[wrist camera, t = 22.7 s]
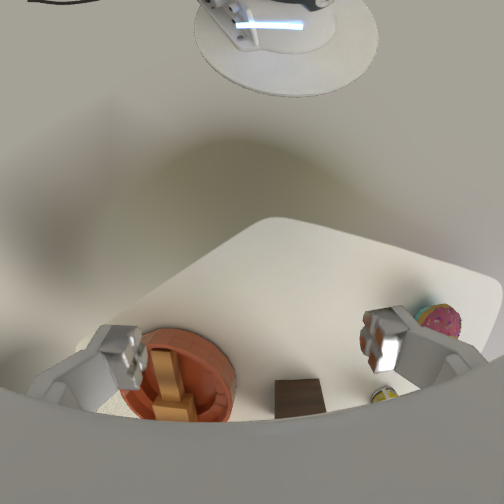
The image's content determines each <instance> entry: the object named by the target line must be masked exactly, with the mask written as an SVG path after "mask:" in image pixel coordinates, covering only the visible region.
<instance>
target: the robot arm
mask: <svg viewBox="0 0 504 504" xmlns="http://www.w3.org/2000/svg"><path fill="white" fill-rule="evenodd" d="M92 1H98V0H80V1H71V2H54V1H46V0H28V2H40V3H46V4H55V5H71V4H79V3H87V2H92ZM197 1H198V2H199V3H200V4H201V6H202V7H203V8H204V9H205V10H206V11H207V12H208V14H209V15H210V16H211V17H212V18H213V20H214V21H215V22H216V23H217V24H218V26H219V27H220V28H221V29H222V31H223V32H224V33H225V34H226V36H227V37H228V38H229V39H230V41H231V42H232V43H233V44H234V46H235V47H236V48H237V49H238V50H239V51H243V52H248V51H257V50H267V51H272V52H276V53H283V54H300V53H306V52H310V51H314V50H316V49H318V48H320V47H322V46H324V45H325V44H327V43H328V42H329V41H330V40H331V38H332V37H333V35H334V33H335V30H336V19H335V0H197ZM240 37H241V38H242V39H240V40H239V39H238V38H240ZM363 323H364V324H365V326H364V327H363V329H362V330H361V332H360V347H361V350H362V352H363V354H364V355H366V356H368V357H369V360H368V363H369V365H370V367H371V369H372V371H373V373H374V374H377V373H382V372H387V371H392V370H395V372H397V373H398V374H400V375H401V376H403V377H404V378H406V379H407V380H408V381H410V382H411V383H413V384H414V385H416V386H417V387H419V388H420V390H417V391H414V392H411V393H407V394H404V395H401V396H397V397H394V398H390V399H386V400H383V401H379V402H375V403H370V404H366V405H362V406H357V407H353V408H348V409H343V410H337V411H332V412H326V413H320V414H313V415H306V416H299V417H291V418H282V419H271V420H259V421H242V422H177V421H161V420H148V419H138V418H129V417H122V416H114V415H108V414H102V413H96V412H95V411H96V410H97V409H98V408H99V407H101V406H102V405H103V404H104V403H105V402H106V401H107V400H108V399H109V398H110V397H111V396H112V395H114V394H115V393H116V392H117V391H118V389H123V390H139V388H140V386H141V383H142V380H143V376H142V372H143V371H144V370H146V368H147V365H148V352H147V348H146V345H145V344H144V343H143V342H142V341H141V338H142V336H143V335H142V332H141V329H140V328H139V327H138V326H122V325H101V326H100V327H99V329H98V330H97V332H96V333H95V335H94V337H93V338H92V340H91V341H90V343H89V344H88V346H87V348H86V349H85V350H80V351H79V352H77V353H75V354H73V355H72V356H70V357H68V358H67V359H65V360H63V361H61V362H60V363H58V364H56V365H54V366H53V367H51V368H49V369H48V370H46V371H44V372H42V373H41V374H39V375H37V376H36V377H35V379H34V381H33V382H32V384H31V385H30V387H29V388H28V390H27V391H26V393H25V395H22V394H19V393H16V392H13V391H10V390H7V389H4V388H2V387H0V504H504V355H503V356H501V357H499V358H497V359H494V360H492V361H491V362H487V361H486V359H485V358H484V357H483V356H482V355H481V354H480V353H479V351H478V350H477V349H476V348H475V347H474V346H472V345H470V344H467V343H465V342H462V341H460V340H457V339H455V338H452V337H450V336H447V335H445V334H442V333H440V332H437V331H435V330H432V329H430V328H427V327H421V326H420V325H419V323H418V322H417V321H416V320H415V319H414V318H413V317H412V316H411V314H410V313H409V312H408V311H407V310H406V309H405V308H404V307H403V306H402V305H397V306H392V307H389V308H383V309H377V310H371V311H365V313H364V315H363Z"/></svg>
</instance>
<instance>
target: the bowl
mask: <svg viewBox="0 0 504 504" xmlns="http://www.w3.org/2000/svg"><path fill="white" fill-rule="evenodd" d="M141 341H142V342H143V343H144V344H145V345H146V348H147V352H148V365H147V368H146V370H144V371H143V372H142V376H143V380H142V383H141V386H140V388H139V390H123V389H119V390H120V392H121V395H122V397H123V399H124V400H125V402H126V403H127V405H128V406H129V407H130V409H131V410H132V411H133V412H134V413H135V414H136V415H137V416H139V417H140V418H141V419H148V420H157V419H156V416H155V413H154V410H153V407H152V404H153V403H154V401H155V399H156V397H157V396H158V394H159V392H160V389H159V385H158V381H157V377H156V373H155V369H154V365H153V361H152V356H151V352H150V351H151V349H152V348H168V349H171V350H174V351H177V356H178V361H179V367H180V372H181V377H182V381H183V386H184V391H185V393H189V394H193V398H194V403H195V407H196V412H197V416H198V422H227V421H228V420H229V417H230V414H231V411H232V407H233V402H234V398H235V393H236V388H237V385H236V378H235V372H234V370H233V368H232V366H231V364H230V362H229V361H228V359H227V357H226V356H225V355H224V354H223V353H222V352H221V351H220V350H219V349H218V348H217V347H216V346H215V345H214V344H213V343H211V342H209V341H207V340H206V339H204V338H202V337H201V336H199V335H197V334H195V333H191V332H188V331H184V330H181V329H158V330H155V331H152V332H149V333H146V334H145V335H143V336H142V338H141Z"/></svg>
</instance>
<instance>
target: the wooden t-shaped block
mask: <svg viewBox="0 0 504 504" xmlns="http://www.w3.org/2000/svg"><path fill="white" fill-rule="evenodd" d="M150 352H151V356H152V361H153V365H154V369H155V373H156V377H157V381H158V385H159V389H160V392H159V394H158V396H157V397H156V399H155V401H154V403H153V404H152V407H153V410H154V413H155V416H156V419H157V420H161V421H177V422H198V416H197V412H196V407H195V403H194V398H193V394H189V393H185V391H184V386H183V381H182V377H181V372H180V367H179V361H178V356H177V351H174V350H171V349H168V348H152V349H151V351H150Z"/></svg>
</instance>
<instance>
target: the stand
mask: <svg viewBox="0 0 504 504" xmlns="http://www.w3.org/2000/svg"><path fill="white" fill-rule="evenodd" d="M320 413H326V408H325V403H324V399H323V394H322V390H321V385H320V381H319V379H305V380H275V419H282V418H291V417H299V416H306V415H313V414H320Z"/></svg>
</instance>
